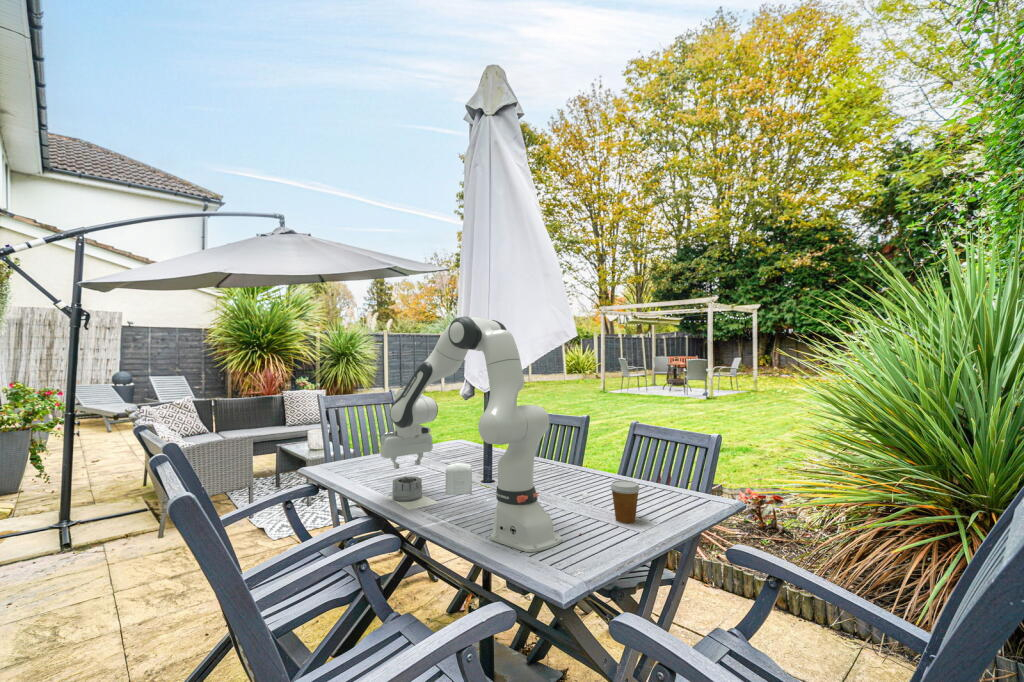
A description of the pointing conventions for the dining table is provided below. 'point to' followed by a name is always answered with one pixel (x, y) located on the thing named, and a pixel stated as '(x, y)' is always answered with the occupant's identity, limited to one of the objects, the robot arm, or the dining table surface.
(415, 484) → the grey castle nut
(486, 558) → the dining table surface
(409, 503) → the board
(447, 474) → the photo printer
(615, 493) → the disposable coffee cup
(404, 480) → the cap
